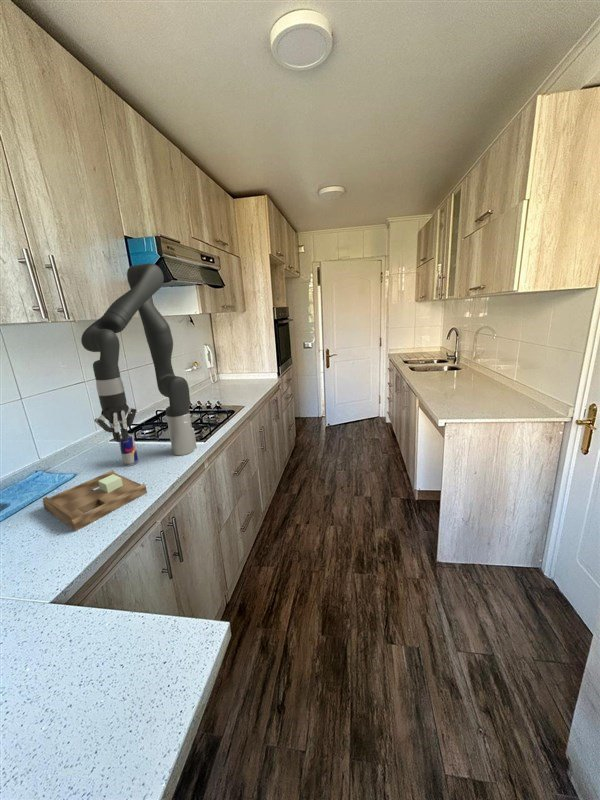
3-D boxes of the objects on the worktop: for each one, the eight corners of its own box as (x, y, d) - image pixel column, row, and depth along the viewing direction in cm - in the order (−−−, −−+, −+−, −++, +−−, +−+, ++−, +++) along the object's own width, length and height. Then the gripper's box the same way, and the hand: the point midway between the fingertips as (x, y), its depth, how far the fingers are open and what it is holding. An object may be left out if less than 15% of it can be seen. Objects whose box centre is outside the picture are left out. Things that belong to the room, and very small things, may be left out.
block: (114, 481, 112) (113, 474, 111) (122, 485, 109) (121, 477, 108) (100, 488, 108) (98, 480, 107) (108, 492, 105) (106, 484, 104)
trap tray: (114, 477, 119) (111, 467, 118) (147, 492, 109) (144, 481, 108) (45, 509, 102) (41, 497, 101) (76, 531, 91) (72, 517, 90)
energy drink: (132, 466, 127) (126, 438, 124) (120, 465, 129) (114, 438, 125) (141, 460, 132) (136, 433, 129) (130, 459, 134) (124, 433, 130)
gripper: (125, 385, 112) (134, 431, 117) (83, 395, 101) (95, 445, 106) (137, 387, 108) (146, 435, 113) (95, 398, 97) (107, 450, 102)
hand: (121, 440), depth 110 cm, fingers closed
